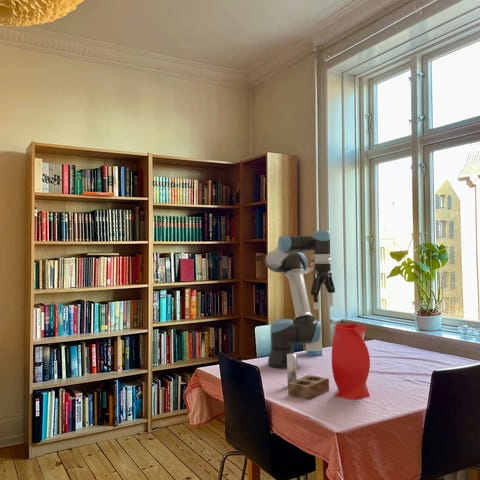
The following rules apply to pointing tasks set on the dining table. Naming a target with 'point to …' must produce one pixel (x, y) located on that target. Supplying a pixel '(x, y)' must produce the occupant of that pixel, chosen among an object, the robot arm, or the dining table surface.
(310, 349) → the ink box
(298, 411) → the dining table surface
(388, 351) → the dining table surface
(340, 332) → the vase
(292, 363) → the pin
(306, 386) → the block
